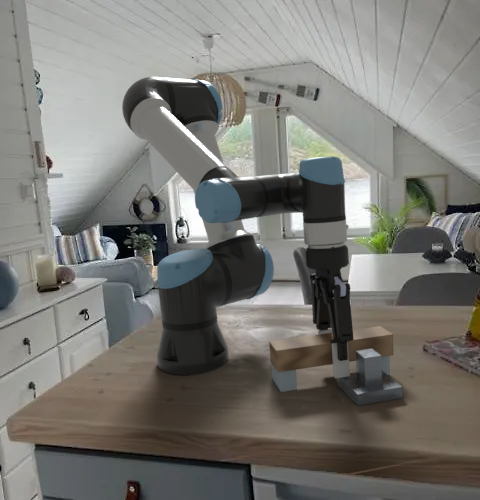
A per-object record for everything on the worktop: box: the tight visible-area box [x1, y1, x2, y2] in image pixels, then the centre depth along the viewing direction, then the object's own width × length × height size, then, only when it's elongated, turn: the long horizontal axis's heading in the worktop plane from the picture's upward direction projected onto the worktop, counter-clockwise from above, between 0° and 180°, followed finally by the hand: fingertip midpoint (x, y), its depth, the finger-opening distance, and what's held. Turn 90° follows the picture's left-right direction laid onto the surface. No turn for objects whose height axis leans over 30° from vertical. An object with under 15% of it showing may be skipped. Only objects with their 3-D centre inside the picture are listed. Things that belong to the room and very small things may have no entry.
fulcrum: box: [337, 349, 404, 407], centre depth 84 cm, size 8×8×7 cm
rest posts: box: [270, 356, 391, 393], centre depth 92 cm, size 21×6×4 cm, turn 101°
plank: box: [269, 325, 395, 372], centre depth 90 cm, size 22×5×4 cm, turn 101°
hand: (334, 369), depth 90 cm, fingers open, 6 cm apart
